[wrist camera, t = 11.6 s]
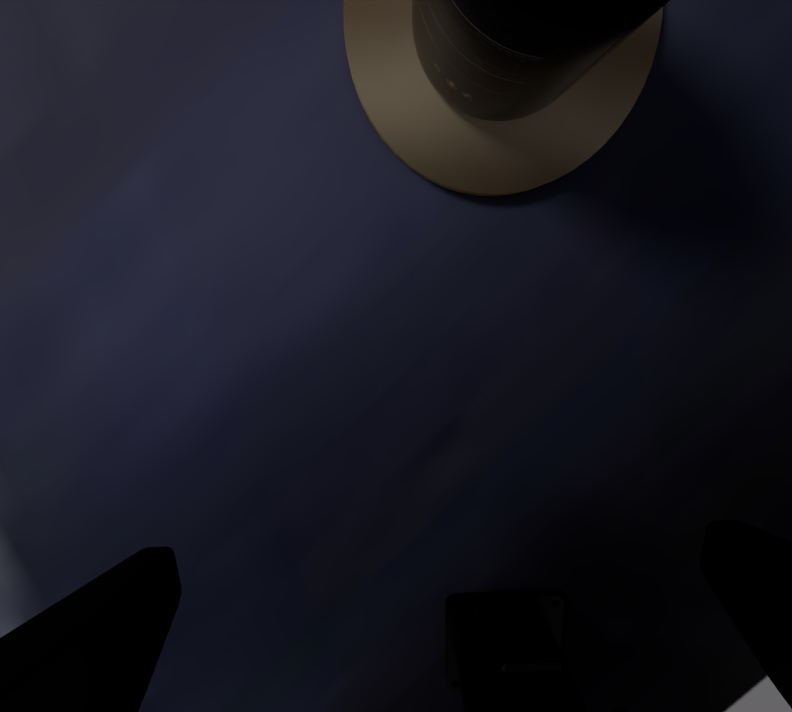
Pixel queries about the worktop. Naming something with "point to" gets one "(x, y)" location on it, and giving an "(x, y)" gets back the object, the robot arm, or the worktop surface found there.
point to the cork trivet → (475, 138)
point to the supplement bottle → (517, 48)
